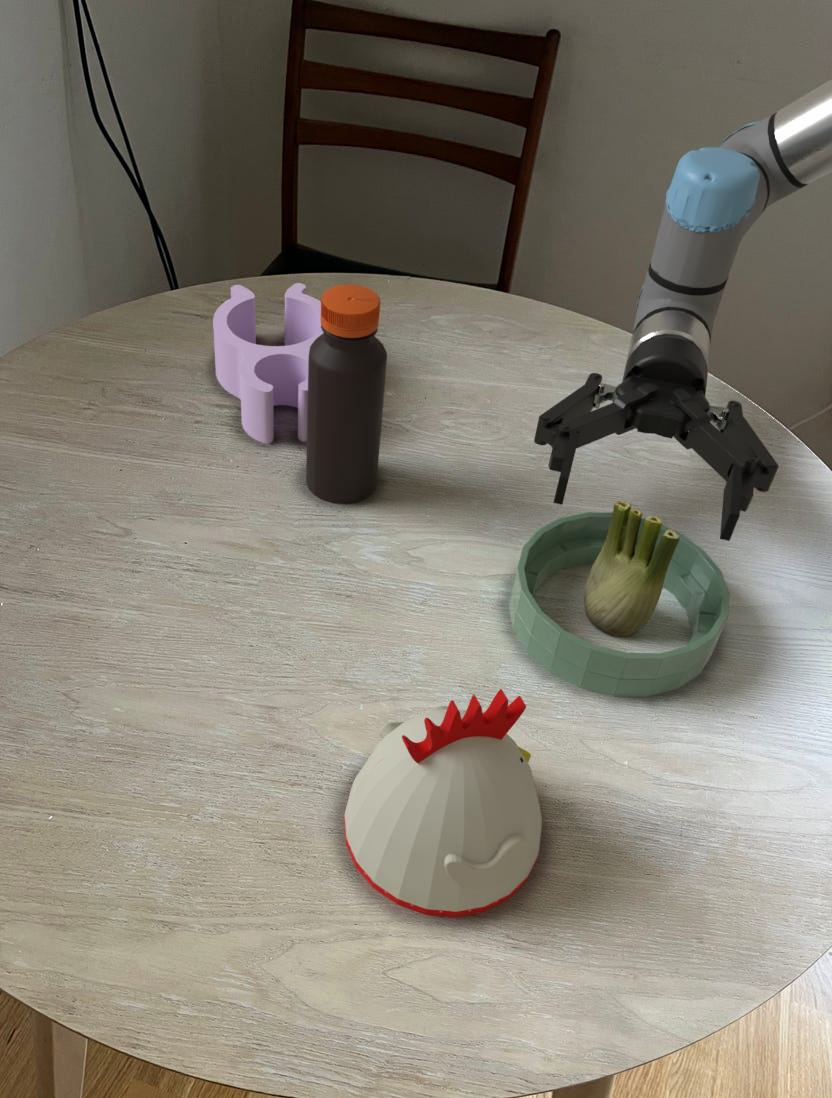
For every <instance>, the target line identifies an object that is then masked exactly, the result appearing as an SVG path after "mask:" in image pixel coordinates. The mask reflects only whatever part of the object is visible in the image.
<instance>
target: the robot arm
mask: <svg viewBox="0 0 832 1098" xmlns="http://www.w3.org/2000/svg"><path fill="white" fill-rule="evenodd" d="M831 173H832V78H831V79H830V80H828V81H825V83H823V84H821V85H820V86H817V87H816V88H814V89H813V90H811V91H809V92H807V93H806V94H804V95H802V96H801V97H799V98H797V99H795V100H794V101H793V102H790V103H789V104H787V105H785V106H784V107H782V108H780V109H779V110H777V111H776V112H775V113H773V114H770V115H769V116H767V117H765V118H764V119H762V120H758V121H753V122H749V123H747V124H745V125H743V126H741V127H739V128H738V129H737V130H735V131H734V132H732V133H731V134H729V135H728V136H727V137H726V138H724V139H723V141H722V142H721V144H720V145H718V146H717V147H715V146H711V147H710V146H709V147H708V146H707V147H701V148H699V149H693V150H690V151H688V152H686V153H685V154H684V155H683V156H682V157H681V158H680V159H679V161H678V163H677V164H676V167H675V171H674V174H673V176H672V180H671V183H670V184H669V185H668V187H667V191H666V194H665V197H666V198H665V204H664V207H663V211H662V216H661V220H660V224H659V227H658V231H657V235H656V239H655V243H654V247H653V251H652V255H651V257H650V258H651V259H650V261H649V265H648V267H647V271H646V275H645V278H644V283H643V285H642V287H641V289H640V291H639V296H638V299H637V302H636V307H635V313H636V314H635V319H634V326H633V331H632V335H631V337H630V342H629V347H628V351H627V357H626V363H625V367H624V372H623V376H622V380H621V383H619V384H618V385H617V386H615V385H612V384H607V383H603V382H602V381H603V375H602V374H601V373H598V372H592V373H591V372H590V374H589V375H588V377H587V379H586V381H585V383H584V384H583V385H581V386H580V387H579V388H577V389H576V390H574V391H573V392H572V393H570V394H569V395H567V396H566V397H565V398H563V399H561V400H560V401H559V402H557V403H555V404H554V405H552V406H551V407H550V408H549V409H547V410H546V411H544V412H543V413H541V414H540V415H539V416H538V420H537V424H536V428H535V434H534V438H533V441H534V443H535V445H538V446H545V445H549V446H550V447H551V448H552V449H551V453H550V457H549V461H548V469H549V471H552V472H556V473H557V472H558V473H559V477H558V482H557V486H556V490H555V494H554V499H553V504H557V505H562V506H563V504H564V500H565V496H566V491H567V487H568V484H569V479H570V475H571V471H572V467H573V463H574V458H575V455H576V450H577V449H579V448H581V447H584V446H587V445H589V444H592V443H594V442H596V441H598V440H601V439H604V438H606V437H608V436H610V435H613V434H616V435H617V436H620V435H623V434H625V433H627V432H631V431H632V430H635V429H636V432H638V433H642V434H654V435H657V436H660V437H663V438H667V439H673V438H674V439H675V440H676V441H677V442H678V443H679V444H680V445H681V446H682V447H683V448H684V449H686V450H691V449H692V450H693V451H694V452H695V453H696V454H697V455H698V456H699V457H700V458H701V459H702V460H703V461H704V462H705V463H706V464H707V465H709V466H710V468H712V469H713V470H714V471H715V472H716V473H717V474H718V476H720V477H721V478H722V479H723V480H724V481H726V484H725V486H724V489H723V496H722V497H723V498H722V508H721V518H720V519H721V521H720V533H719V540H723V541H727V542H730V541H731V539H732V535H733V534H734V530H735V528H736V526H737V523H738V521H739V518H740V517H741V516H740V515H741V512H744V513H746V512H747V510H748V509H749V508H750V505H751V502H752V500H753V498H754V491H755V490H757V491H759V492H760V493H767V492H769V491H770V488H771V486H772V484H773V482H774V479H775V476H776V474H777V473H778V469H779V464H778V462H777V461H776V460H775V458H774V457H773V456H772V454H771V453H770V451H769V450H768V448H767V447H766V446H765V444H764V443H763V442H762V440H761V438H759V436H758V435H757V433H756V432H755V430H754V429H753V428H752V426H751V425H750V423H749V422H748V421H747V419H746V418H745V417H744V412H743V405H742V403H741V402H740V401H737V400H729V401H728V402H727V405H726V407H723V406H715V405H710V402H709V400H708V399H707V398H706V393H707V384H708V375H709V366H710V355H711V342H712V336H713V330H714V329H713V328H714V324H715V320H716V316H717V313H718V310H719V307H720V304H721V301H722V298H723V295H724V292H725V289H726V285H727V283H728V280H729V275H730V273H731V269H732V266H733V264H734V260H735V258H736V255H737V253H738V249H739V247H740V244H741V241H742V239H743V238H744V236H745V235H746V234H747V232H749V230H750V229H751V227H752V226H753V225H754V224H755V223H756V221H757V220H758V219H759V218H760V216H762V214H763V213H764V212H765V210H766V209H767V208H768V207H770V206H771V205H773V204H774V203H777V202H778V201H780V200H782V199H784V198H786V197H789V195H792V194H793V193H795V192H797V191H799V190H801V189H803V188H804V187H806V186H808V185H810V184H811V183H813V182H815V181H817V180H819V179H821V178H823V177H825V176H827V175H829V174H831ZM608 401H609V402H610V401H611V402H612V403H610V404H606V405H604V406H601V404H604V403H605V402H608Z"/></svg>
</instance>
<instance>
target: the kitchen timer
mask: <svg viewBox="0 0 832 1098" xmlns="http://www.w3.org/2000/svg"><path fill="white" fill-rule="evenodd" d="M526 708H527V704H526V703H525V701H524V700H523V699H522V696H521V695H518V696H517V697H515V699H514V700H513V701H511V702H510V703H509V699H508V697H507V695H506V694H505V693H504V691H503V689H502V688H500V689H498V691H497V692H496V694H495V696H494V697H493V699H492V700H491V702H490V704H489V705H488V707H487V708H486V710H485V711H484V712H483V707H482V704H481V703H480V701H479V700H478V698H477V696H476V695H475V694H472V695H471V698H470V700H469V703H468V705H467V708H466V709H459V708H458V706H457V705H456V702H455V701H454V699H451V700H450V702H449V704H448V705H437V706H433V707H431V708H429V709H428V710H426V711H425V712H423V713H421V714H420V715H417V716H413V717H412V718H409V719H407V720H404V721H396V722H388V723H385V725H383V726H382V727H381V729H380V730H379V737H380V739H381V740H380V741H379V743H377V746H376V747H375V748H374V750H373V751H372V752H371V754H370V755H369V757H368V758H367V760H366V761H365V763H364V765H363V766H362V767H361V769H360V770H359V772H358V773H357V775H356V777H355V778H354V781H352V784H351V788H350V791H349V795H348V798H347V799H348V800H347V803H346V808H345V811H344V817H343V822H344V823H343V824H344V825H343V826H344V837H345V845H346V848H347V851H348V853H349V855H350V857H351V860H352V862H353V864H354V866H355V868H356V870H357V871H358V872H359V873H360V874H361V876H362V877H363V878H364V879H365V880H366V881H367V882H368V884H369V885H370V886H371V888H373V889H374V890H375V891H376V892H378V893H379V894H381V895H382V896H384V897H385V898H387V899H388V900H390V902H393V903H394V904H396V905H397V906H400V907H403V908H405V909H408V910H411V911H414V912H416V913H420V914H423V915H425V916H436V917H448V918H459V917H463V916H464V917H465V916H470V915H475V914H480V913H484V912H486V911H488V910H490V909H493V908H495V907H496V906H498V905H500V904H502V903H505V902H507V901H508V900H509V899H510V898H511V897H512V896H513V895H514V894H515V893H517V891H519V890H520V889H521V888H522V887H523V886H524V885H525V884H526V882H527V881H528V879H529V876H530V875H531V873H532V870H533V869H534V866H535V865H536V862H537V860H538V857H539V854H540V853H539V852H540V846H541V845H540V844H541V836H542V827H543V818H542V817H543V816H542V810H541V806H540V801H539V797H538V792H537V789H536V783H535V779H534V775H533V771H532V768H531V766H530V764H529V762H530V760H531V757H532V753H530V752H529V751H527V750H526V749H524V748H522V747H520V746H519V745H518V744H517V743H516V741H515V740H514V739H513V738H512V737H511V736H510V735H509V734H508V733H509V731H511V729H512V728H513V726H514V725H515V724H517V722H518V720H519V719H520V718H521V716H522V715H523V713H524V712H525V710H526Z"/></svg>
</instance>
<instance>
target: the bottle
mask: <svg viewBox="0 0 832 1098" xmlns="http://www.w3.org/2000/svg"><path fill="white" fill-rule="evenodd" d="M320 301H321V329H322V331H323V334H322V335H320V336H319V337H318V338H317V339H316V340H315V341H314V342H313V343H312V345H311V346H310V350H309V360H308V410H307V442H306V463H305V465H306V466H305V483H306V486H307V489H308V490H309V491H310V492H311V494H312V495H313V496H314V497H316V498H318V499H320V500H321V501H323V502H328V503H330V504H334V505H335V504H336V505H337V504H338V505H349V504H356V503H359V502H362V501H364V500H366V499H368V498H370V496H373V493H374V492H375V490H376V489H377V484H378V473H379V459H380V449H381V434H382V425H383V424H382V422H383V411H384V409H383V408H384V399H385V398H384V397H385V386H386V375H387V374H386V372H387V361H388V360H387V359H388V352H387V350H386V348H385V346H384V344H383V343H382V342H381V340H379V339H378V338H377V337H376V335H377V333H378V329H379V323H380V313H381V298H380V296H379V295H378V293H376V292H375V291H373V290H372V289H370V288H368V287H366V286H363V285H358V284H338V285H335V286H332V287H330V288H328V289H326V290H325V291H324V292H323V294H322V295H321V298H320Z"/></svg>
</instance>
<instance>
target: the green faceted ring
mask: <svg viewBox="0 0 832 1098" xmlns="http://www.w3.org/2000/svg"><path fill="white" fill-rule="evenodd" d="M612 514H613V512H597V511H596V512H595V511H593V512H592V511H588V512H583V513H577V514H572V515H567V516H564V517H560V518H558V519H556V520H554V521H552V522H550V523H548V524H546V525H545V526H542V527H541V528H539V529H537V531H536V532H534V534H533V535H532V536H531V537H530V539H529V540H528V541H526V543H525V544H524V545H523V546H522V549H521V552H520V557H519V559H518V563H517V567H516V572H515V576H514V580H513V585H512V589H511V594H510V598H509V603H508V610H509V615H510V622H511V628H512V630H513V632H514V634H515V636H516V637H517V639H518V640H519V642H520V644H521V646H522V647H523V648H524V650H525V652H526V653H527V654H528V655H530V657H531V658H532V659H534V661H536V662H537V663H539V664H540V665H541V666H542V667H543V668H544V669H545V670H547V671H548V672H549V673H550V674H552V675H554V676H556V677H558V678H560V679H561V680H564V681H565V682H567V683H569V684H572V685H573V686H576V687H578V688H579V689H580V688H581V689H583V690H587V691H591V692H595V693H599V694H603V695H607V696H611V697H618V698H619V697H625V698H626V697H627V698H629V697H631V698H633V697H634V698H635V697H636V698H639V697H640V698H648V697H649V698H650V697H653V696H656V695H661V694H664V693H667V692H671V691H672V692H673V691H676V690H678V689H680V688H681V687H683V686H685V685H686V684H687V683H689V682H690V681H692V680H694V679H695V678H696V677H698V676H699V675H700V674H701V673H702V671H703V669H704V668H705V666H706V665H707V663H708V661H709V660H710V658H711V657H712V655H713V653H714V650H715V648H716V646H717V644H718V641H719V640H720V639H719V638H720V637H721V634H722V631H723V629H724V627H725V626H726V623H727V620H728V619H729V611H730V599H731V598H730V597H731V593H730V591H729V587H728V584H727V583H726V581H725V577H724V575H723V572H722V570H721V568H720V567H718V565H717V564H716V563H715V562H714V560H713V559H712V558H711V557H710V555H708V553H707V551H705V550H704V548H702V547H701V546H699V545H698V544H696V543H695V542H693V540H690V539H689V538H688V537H687V536H685V535H683V533H681V532H679V531H677V530H676V529H675V530H674V529H673V528H670V527H668V526H666V525H663V524H662V526H661V530H660V533H659V536H658V539H657V541H656V545H655V549H654V552H655V550H656V548H657V546H658V544H659V542H660V540H661V538H662V536H663V534H664V533H665V532H666V531H667V530H668V529H672V530H673V531H675V532H676V533H677V534H678V535H679V537H680V539H679V542H678V544H677V546H676V548H675V551H674V553H673V556H672V558H671V560H670V563H669V566H668V569H667V572H666V576H665V580H664V584H663V588H664V589H665V590H666V591H668V592H669V593H671V594H672V595H673V596H674V598H675V599H676V601H678V603H679V604H680V605H681V607H682V608H683V610H684V611H685V612H686V615H687V618H688V621H689V624H690V626H691V634H690V635H691V637H690V641H689V642H688V643H687V645H686V646H683V647H679V648H674V649H671V650H667V651H663V652H625V651H622V650H617V649H613V648H609V647H605V646H601V645H596V644H594V643H592V642H590V641H588V640H585V639H584V638H581V637H579V636H577V635H575V634H573V633H571V632H569V631H567V630H565V629H564V628H563V627H561V625H559V624H558V623H557V622H556V621H555V620H554V619H552V618H551V616H549V615H547V614H546V613H545V612H544V611H543V610H542V609H541V606H540V605H539V604H538V602H537V599H536V595H535V592H536V591H537V590H538V589H539V587H540V586H541V585H542V584H543V583H544V582H545V580H546V579H548V578H549V577H552V576H553V575H555V574H557V573H558V572H561V571H562V570H565V569H570V568H573V567H577V566H578V567H579V566H583V565H593V564H594V563H595V561H596V559H597V557H598V555H599V553H600V552H601V550H602V548H603V546H604V543H605V541H606V538H607V534H608V531H609V527H610V524H611V519H612ZM645 519H646V518H644V517H642V518H641V524H640V527H639V533H638V536H637V542H636V546H635V551H636V548H637V544H638V542H639V538H640V534H641V531H642V528H643V525H644V521H645ZM654 552H653V554H654ZM652 557H653V556H652Z"/></svg>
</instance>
